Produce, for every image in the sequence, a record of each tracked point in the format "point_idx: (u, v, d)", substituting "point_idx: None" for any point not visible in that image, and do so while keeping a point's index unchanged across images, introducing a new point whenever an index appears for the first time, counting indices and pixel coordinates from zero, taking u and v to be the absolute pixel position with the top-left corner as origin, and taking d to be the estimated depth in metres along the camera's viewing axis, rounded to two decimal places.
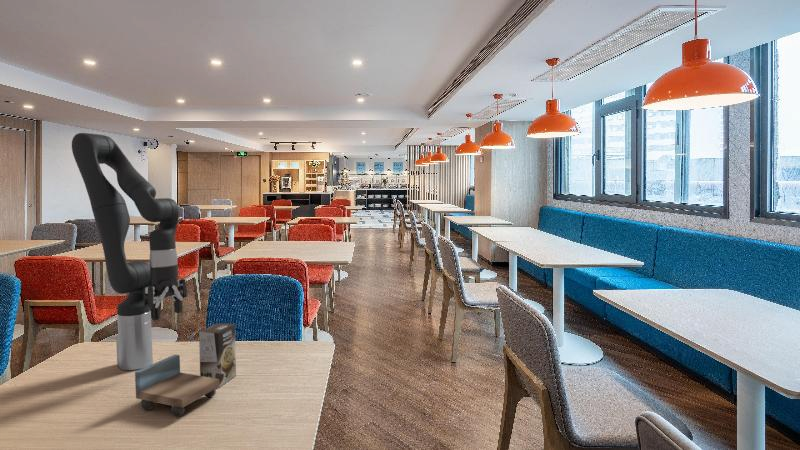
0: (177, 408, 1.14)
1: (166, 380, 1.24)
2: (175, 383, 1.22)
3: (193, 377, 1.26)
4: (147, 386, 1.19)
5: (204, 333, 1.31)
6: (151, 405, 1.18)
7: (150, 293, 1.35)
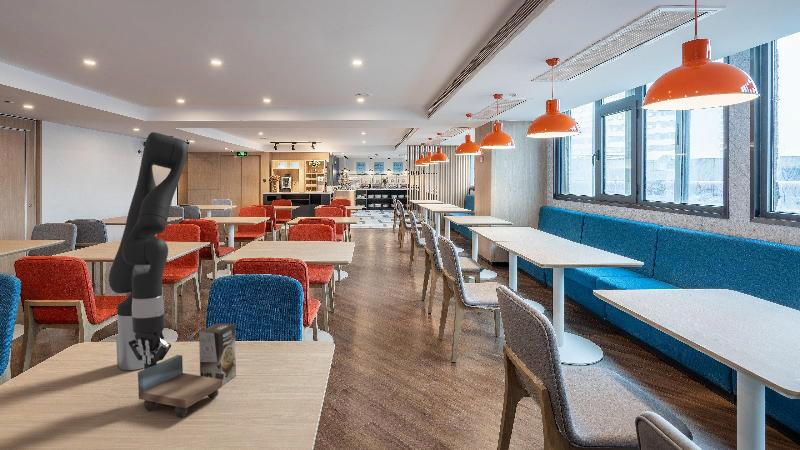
0: (180, 409, 1.14)
1: (169, 380, 1.24)
2: (177, 383, 1.22)
3: (196, 378, 1.26)
4: (150, 387, 1.19)
5: (204, 333, 1.31)
6: (154, 406, 1.17)
7: None
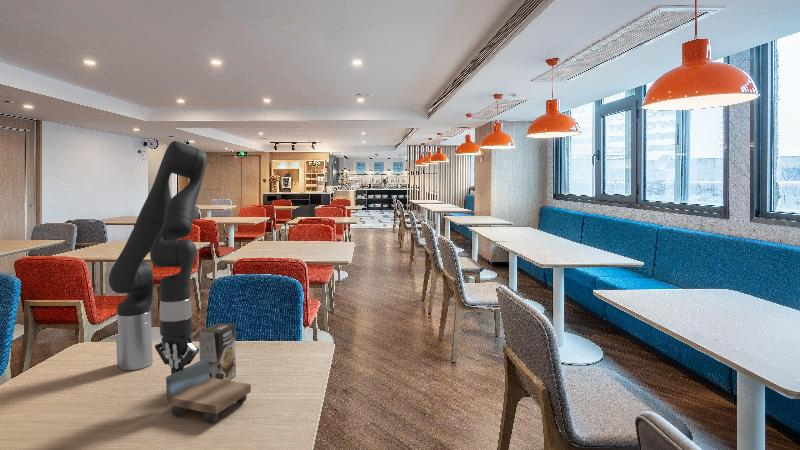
0: (210, 415, 1.11)
1: (196, 385, 1.21)
2: (205, 388, 1.19)
3: (224, 382, 1.23)
4: (178, 392, 1.16)
5: (204, 333, 1.31)
6: (182, 411, 1.14)
7: None
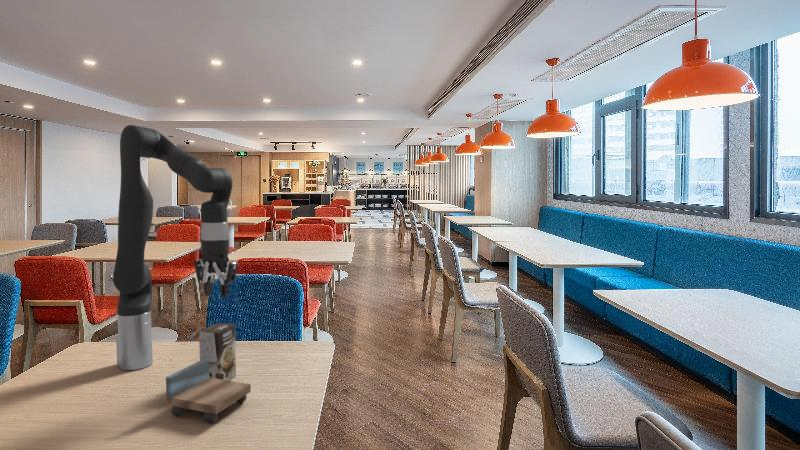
0: (210, 415, 1.11)
1: (196, 385, 1.21)
2: (205, 388, 1.19)
3: (224, 382, 1.23)
4: (178, 392, 1.16)
5: (204, 333, 1.31)
6: (182, 411, 1.14)
7: None
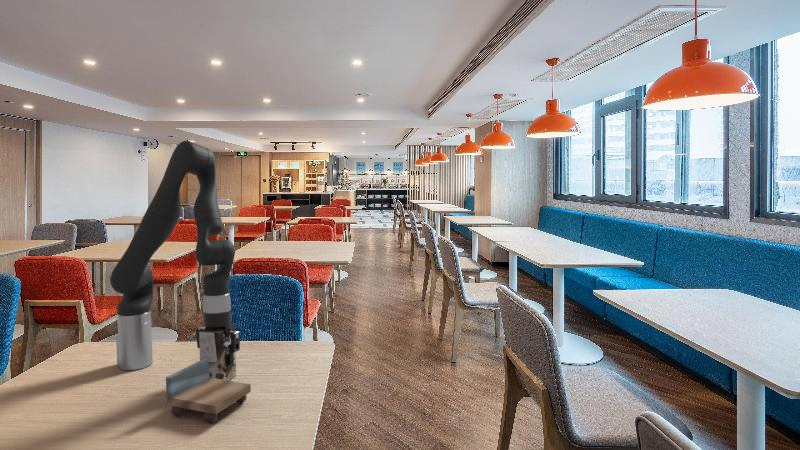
0: (210, 415, 1.11)
1: (196, 385, 1.21)
2: (205, 388, 1.19)
3: (224, 382, 1.23)
4: (178, 392, 1.16)
5: (204, 333, 1.31)
6: (182, 411, 1.14)
7: None
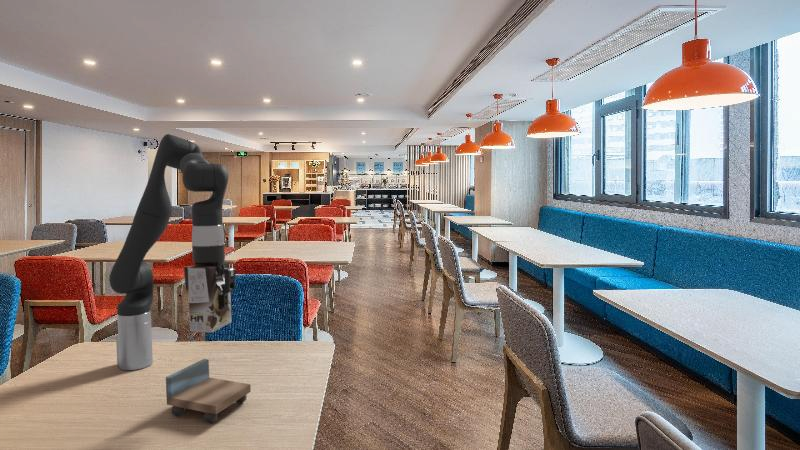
0: (210, 415, 1.11)
1: (196, 385, 1.21)
2: (205, 388, 1.19)
3: (224, 382, 1.23)
4: (178, 392, 1.16)
5: (194, 269, 1.13)
6: (182, 411, 1.14)
7: None
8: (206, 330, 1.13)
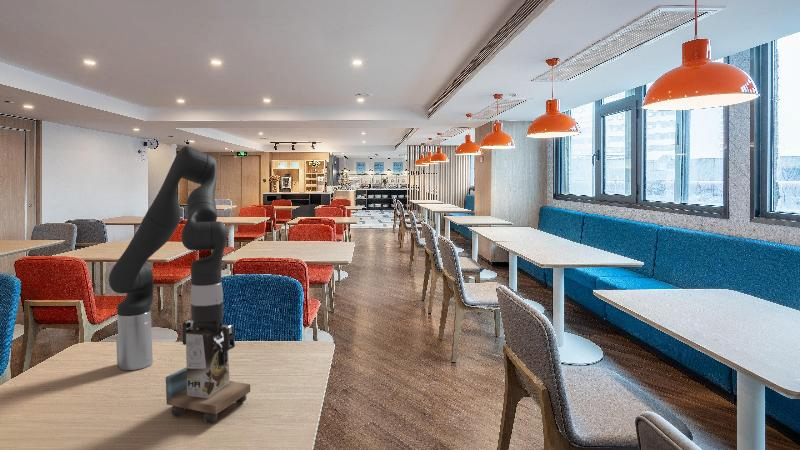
0: (210, 415, 1.11)
1: None
2: None
3: None
4: (178, 392, 1.16)
5: (191, 335, 1.13)
6: (182, 411, 1.14)
7: None
8: (203, 396, 1.13)
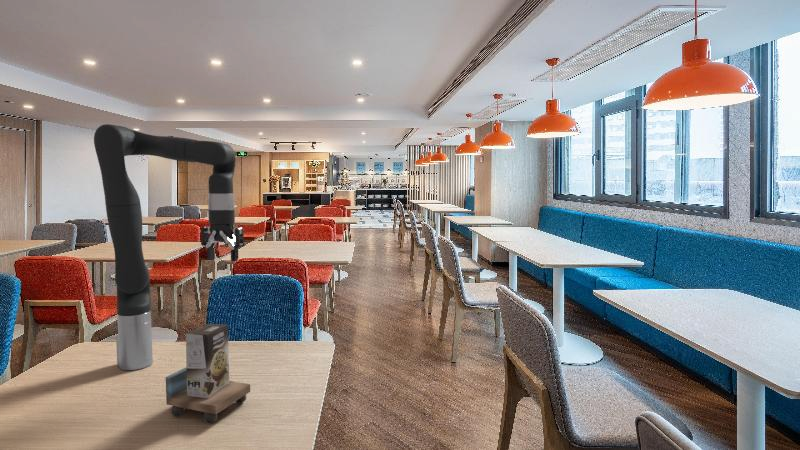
0: (210, 415, 1.11)
1: None
2: None
3: None
4: (177, 392, 1.16)
5: (191, 335, 1.13)
6: (182, 411, 1.14)
7: None
8: (203, 396, 1.13)
